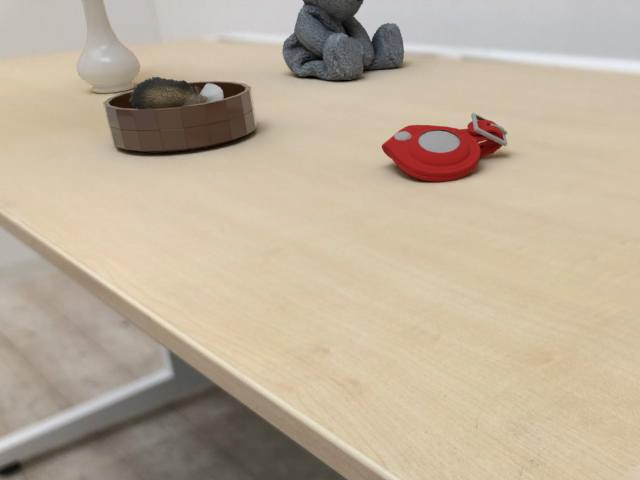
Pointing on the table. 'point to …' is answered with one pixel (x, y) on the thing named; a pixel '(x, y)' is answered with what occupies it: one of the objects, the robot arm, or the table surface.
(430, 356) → the table surface
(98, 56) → the flower vase
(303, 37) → the koala plush
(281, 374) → the table surface
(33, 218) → the table surface
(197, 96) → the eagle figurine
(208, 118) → the bowl
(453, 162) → the tracker holder
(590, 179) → the table surface
